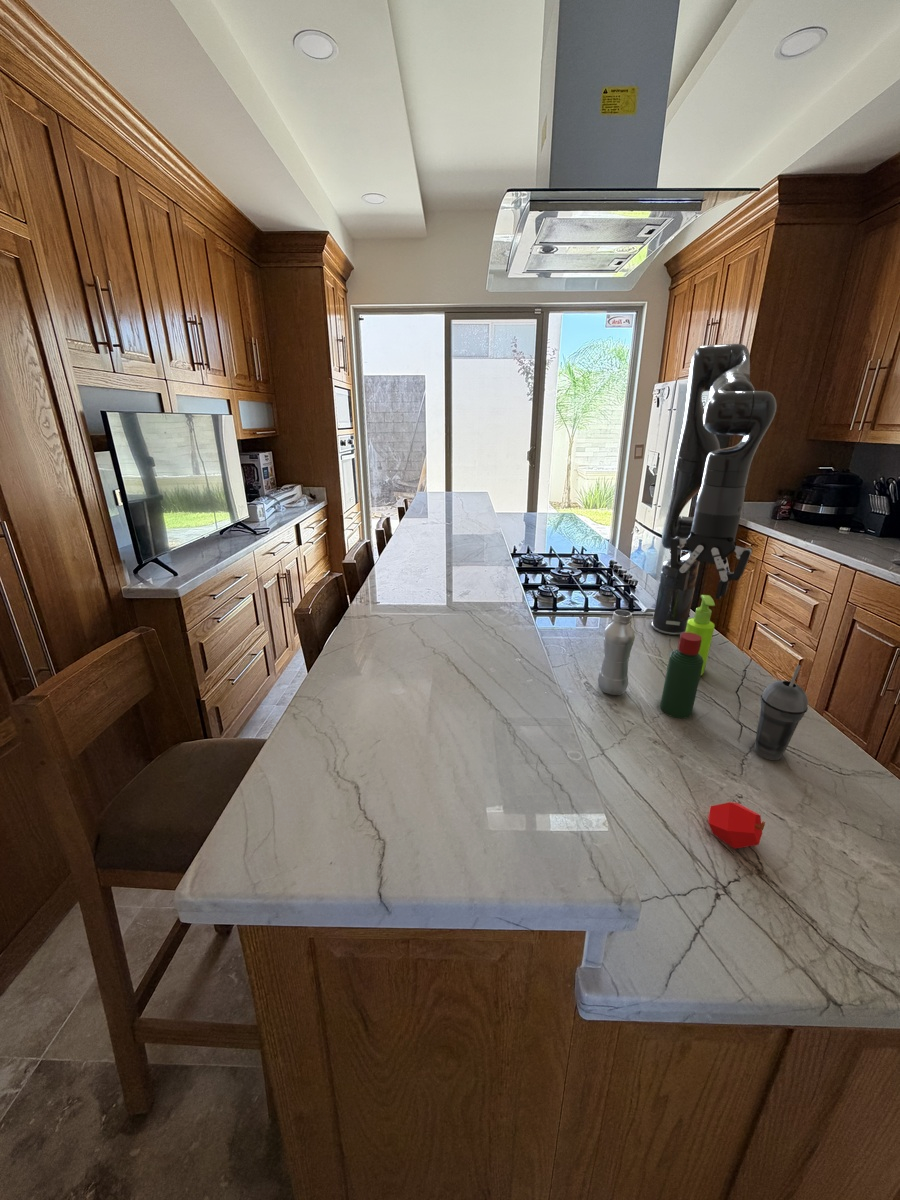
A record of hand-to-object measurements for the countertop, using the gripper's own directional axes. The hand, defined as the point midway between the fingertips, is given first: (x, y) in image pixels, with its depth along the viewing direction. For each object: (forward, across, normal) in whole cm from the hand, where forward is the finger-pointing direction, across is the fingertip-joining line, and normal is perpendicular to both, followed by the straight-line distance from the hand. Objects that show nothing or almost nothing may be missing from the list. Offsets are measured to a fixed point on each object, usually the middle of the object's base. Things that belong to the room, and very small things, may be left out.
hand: (700, 593), depth 95 cm
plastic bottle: (+28, +14, +2) cm, 31 cm away
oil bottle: (+28, 0, 0) cm, 28 cm away
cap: (+13, 0, 0) cm, 13 cm away
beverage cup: (+28, -18, +3) cm, 33 cm away
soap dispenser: (+28, +2, -19) cm, 34 cm away
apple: (+28, -17, +29) cm, 44 cm away
